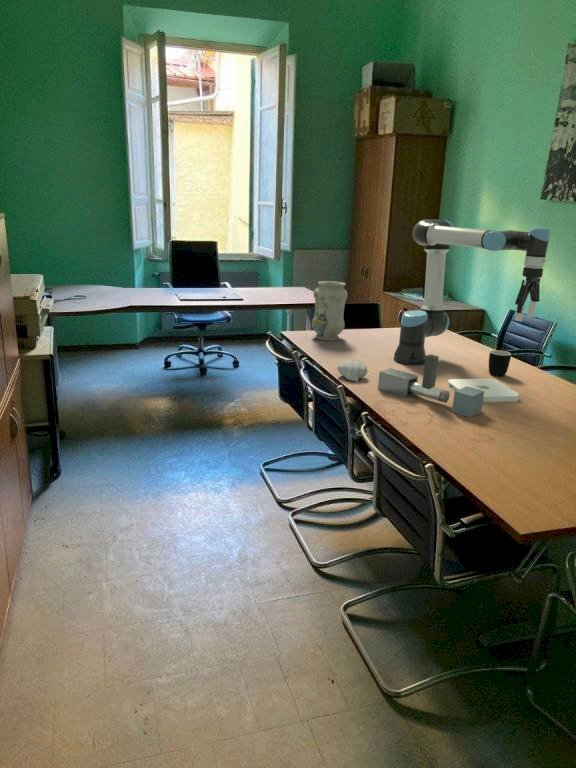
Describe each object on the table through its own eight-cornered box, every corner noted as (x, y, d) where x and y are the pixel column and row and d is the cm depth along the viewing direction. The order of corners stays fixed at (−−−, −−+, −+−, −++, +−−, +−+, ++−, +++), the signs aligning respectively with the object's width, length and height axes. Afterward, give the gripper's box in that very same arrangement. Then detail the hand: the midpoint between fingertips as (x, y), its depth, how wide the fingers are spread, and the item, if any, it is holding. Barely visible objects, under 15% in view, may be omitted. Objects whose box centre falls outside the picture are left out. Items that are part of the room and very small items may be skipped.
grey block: (451, 412, 208) (454, 391, 206) (463, 406, 214) (466, 386, 212) (469, 417, 204) (473, 396, 201) (481, 411, 210) (484, 390, 207)
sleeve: (377, 389, 230) (379, 371, 227) (388, 385, 235) (390, 368, 233) (405, 397, 221) (407, 379, 219) (416, 393, 227) (418, 375, 224)
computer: (521, 402, 223) (522, 395, 222) (468, 403, 219) (469, 396, 218) (493, 384, 244) (494, 378, 243) (444, 385, 240) (445, 379, 239)
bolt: (384, 386, 229) (388, 347, 224) (390, 384, 232) (394, 345, 227) (443, 403, 212) (448, 361, 207) (448, 401, 215) (454, 359, 210)
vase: (327, 332, 322) (330, 279, 313) (351, 339, 310) (355, 283, 301) (304, 336, 311) (307, 281, 301) (328, 343, 298) (331, 285, 289)
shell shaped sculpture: (346, 371, 252) (347, 356, 250) (371, 377, 246) (372, 362, 244) (330, 377, 242) (331, 362, 240) (356, 384, 235) (358, 368, 233)
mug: (510, 378, 252) (513, 356, 249) (489, 376, 253) (492, 354, 250) (502, 370, 263) (506, 349, 260) (482, 369, 264) (486, 347, 261)
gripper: (531, 270, 221) (522, 324, 227) (553, 266, 239) (544, 316, 245) (512, 267, 225) (503, 320, 232) (535, 264, 243) (526, 313, 250)
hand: (524, 318), depth 239 cm, fingers open, 13 cm apart
